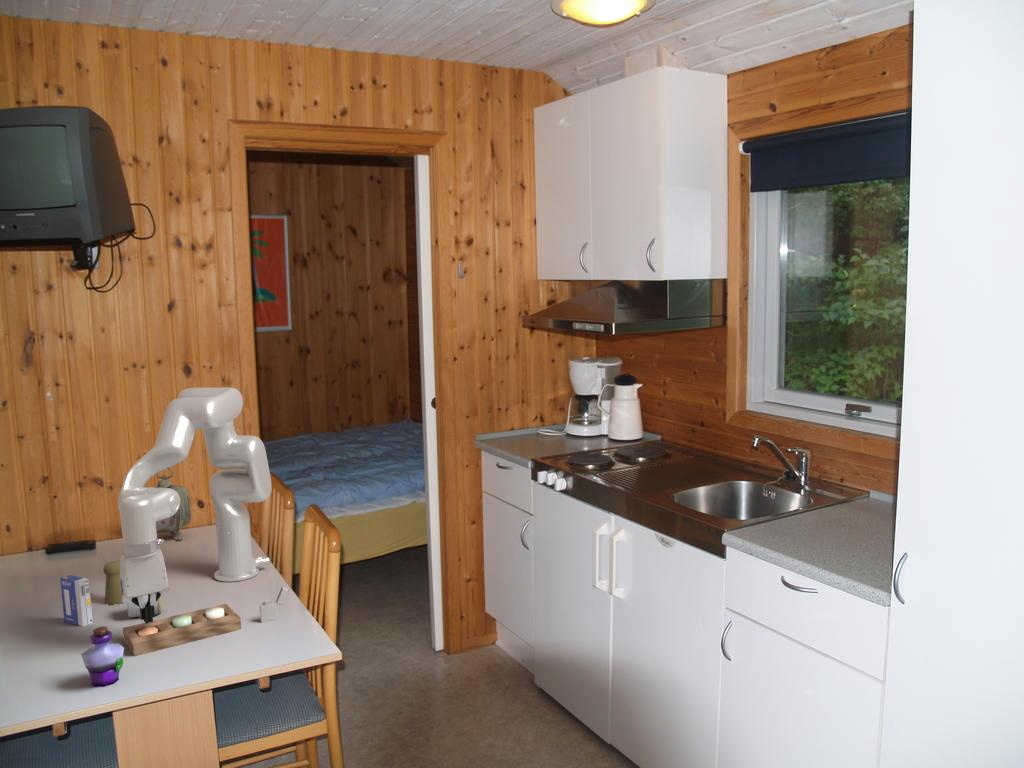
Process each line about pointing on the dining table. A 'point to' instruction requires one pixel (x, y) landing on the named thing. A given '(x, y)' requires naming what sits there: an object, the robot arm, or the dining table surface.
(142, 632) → the terracotta button
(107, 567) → the cork
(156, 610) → the ceramic mug
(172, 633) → the button deck
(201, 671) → the dining table surface
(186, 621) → the sage button
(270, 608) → the lighter
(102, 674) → the potion bottle
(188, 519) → the tabletop clock
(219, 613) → the cream button
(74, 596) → the walkman
